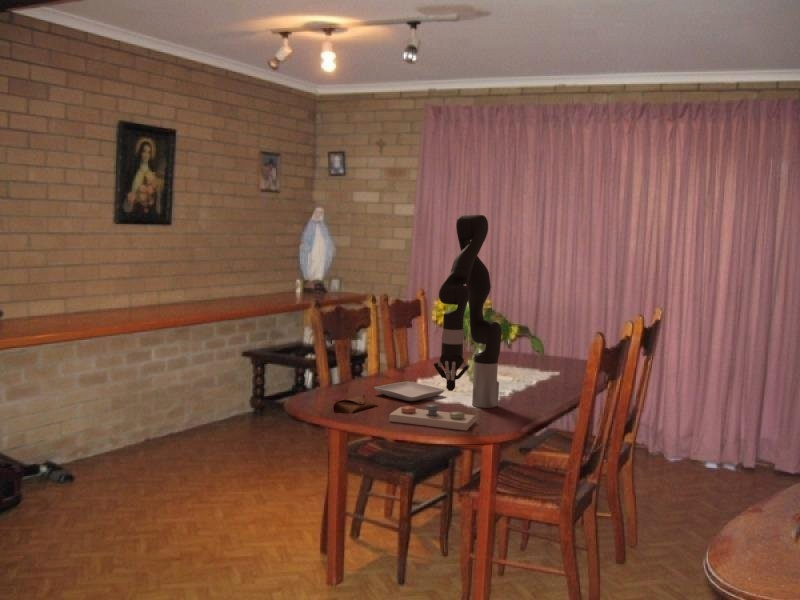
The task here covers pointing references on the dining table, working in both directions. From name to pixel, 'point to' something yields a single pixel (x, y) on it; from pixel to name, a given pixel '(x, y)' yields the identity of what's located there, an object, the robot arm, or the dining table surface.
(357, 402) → the sunglasses case
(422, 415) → the button panel
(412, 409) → the terracotta button
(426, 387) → the salad plate
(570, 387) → the dining table surface
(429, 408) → the slate button
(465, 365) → the robot arm
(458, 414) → the sage button
